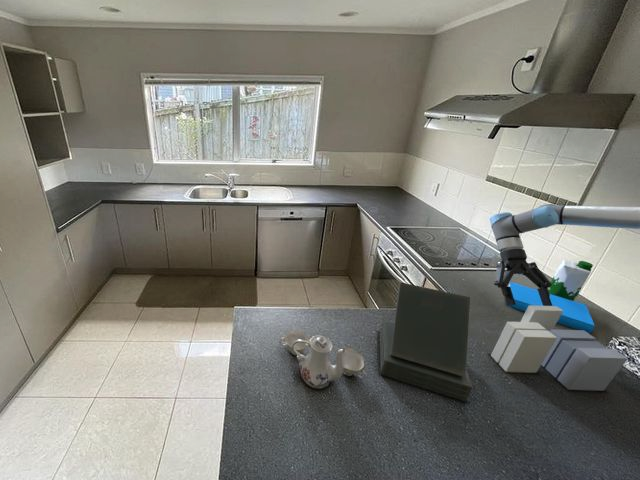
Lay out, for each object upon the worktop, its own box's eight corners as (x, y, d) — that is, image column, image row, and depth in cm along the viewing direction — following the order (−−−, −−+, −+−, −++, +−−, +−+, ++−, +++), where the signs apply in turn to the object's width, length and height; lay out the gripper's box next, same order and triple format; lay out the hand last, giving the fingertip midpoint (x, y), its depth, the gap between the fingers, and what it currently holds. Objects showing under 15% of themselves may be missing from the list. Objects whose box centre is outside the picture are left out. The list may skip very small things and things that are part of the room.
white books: (490, 355, 96) (507, 321, 91) (519, 356, 97) (537, 322, 91) (506, 371, 90) (524, 336, 85) (536, 372, 91) (557, 337, 85)
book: (509, 281, 133) (586, 303, 118) (506, 289, 134) (581, 312, 120) (510, 298, 120) (596, 325, 106) (506, 306, 122) (590, 334, 107)
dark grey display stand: (380, 374, 88) (398, 311, 78) (379, 332, 105) (394, 276, 95) (465, 402, 80) (497, 336, 71) (449, 352, 97) (474, 293, 88)
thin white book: (512, 337, 105) (528, 305, 99) (538, 338, 105) (556, 306, 99) (517, 342, 102) (535, 310, 97) (544, 343, 102) (563, 310, 97)
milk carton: (572, 308, 122) (595, 269, 114) (543, 298, 128) (564, 260, 120) (571, 299, 128) (593, 261, 120) (544, 290, 134) (563, 254, 126)
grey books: (534, 358, 96) (551, 328, 91) (565, 359, 96) (584, 329, 91) (568, 389, 85) (590, 357, 80) (603, 390, 85) (628, 358, 80)
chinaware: (363, 366, 92) (373, 324, 87) (364, 410, 77) (376, 361, 72) (281, 342, 101) (286, 302, 96) (268, 377, 86) (272, 331, 81)
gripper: (533, 254, 115) (552, 307, 107) (473, 252, 115) (488, 305, 107) (551, 248, 108) (573, 305, 100) (488, 246, 108) (504, 303, 100)
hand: (529, 305), depth 103 cm, fingers open, 13 cm apart
